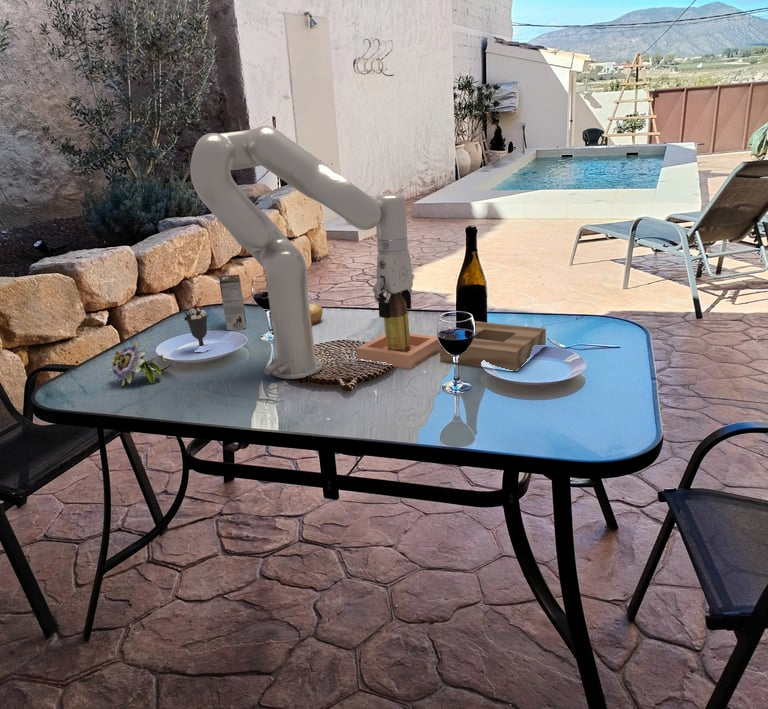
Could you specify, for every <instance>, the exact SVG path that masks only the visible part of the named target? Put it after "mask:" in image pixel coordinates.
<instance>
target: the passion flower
mask: <svg viewBox="0 0 768 709" xmlns="http://www.w3.org/2000/svg"><path fill="white" fill-rule="evenodd" d="M138 349H139V342H138V341H135V342H134V343H133V345H132V346H131V345H130V346H128V347H127V348H126V347H125V348H124V349H122V351H120V350H119V351H116V352H115V353H114V355H113V357H112V360H111V367H110V368H109V369H108V371H109V372H113V374H114V375H115V376H116V377H117V381H118V382H121V385H120V387H126V385H127V384H129V385H130V384H132V383H133V381H134V378H135V373H137V374H139V373H140V372H144V374H145V376H146V378H147V380H148V381H149V383H150V384H156V375H158V377H159V378H161V377H162V369H160V366H158V365H157V364H156V363H155V362H154V360H156V359H158V358H161V360H162V362H163V364H167V361H166V359H165V357H164V356H163V354H161V355H159V356H157V357H155V358H152V359H150V360H147V361H146V360H145V358H144V357H145V356H146V355H147V354H148V349H147V348H146V349H142V350H140V351H138ZM152 369H153V370H154V371H155V372H154V371H153V370H152ZM155 373H156V375H155Z"/></svg>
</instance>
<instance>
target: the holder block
mask: <svg viewBox="0 0 768 709" xmlns="http://www.w3.org/2000/svg"><path fill="white" fill-rule="evenodd" d="M474 321H475V320H474ZM475 323H476V330H475V337H474V339H473V341H472V343H471V345H470V346H469V348H468V349H467V350H466V352H464V353H463V354H462V355H461V356H460V357H459V362H458V364H457V365H463V366H468V367H469V366H470V367H477V368H482V367H481V362H482V361H483V360H485V361H486V362H489V363H490V364H492V365H495V366H497V367H501V368H505V369H509V370H513V371H516V370H517V369H518V368H520V367H521V366H522V365H523V364H524V363H525V362H526V361H527V359H528V358H529V357H530V354H531V351H532V347H533V346H534V345H546V344H547V343H546V338H547V337H546V336H547V334H546V333H547V328H543V327H533V326H523V325H516V324H515V325H514V324H506V323H505V324H504V323H495V322H484V321H477V320H476V321H475ZM439 358H440V360H439V361H440V362H442V363H447V364H449V363H450V364H454V363H453V357H452V356H451V355H450V354H448V353H447V352H446V351H445V350H444V348H443V347H442V346H441V345H440V351H439ZM521 368H522V367H521ZM521 368H520V369H521Z"/></svg>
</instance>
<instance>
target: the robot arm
mask: <svg viewBox="0 0 768 709" xmlns="http://www.w3.org/2000/svg"><path fill="white" fill-rule="evenodd" d="M255 167H263V168H265V169H266V170H267V171H269V172H271V173H272V174H273V175H275V176H276V177H278V178H279V179H280V180H282V181H284V183H286V184H287V185H289V186H290V187H292V188H293V189H295V190H297V192H300V193H301V194H303V196H305V197H307V198H309V199H311V200H313V201H316V202H318V203H320V204H321V205H323V206H325V208H327V209H330V211H332V212H334V213H335V214H336V215H339V217H341V218H343V219H344V221H346V223H348V224H349V225H350V226H352V227H355V228H356V229H358V230H362V231H370V230H373V229H374V228H376V229H375V230H376V231H375V232H376V249H377V256H376V257H377V258H376V282H375V284H374V286H373V287H372V291H373V293H374V298H375V299H376V302H377V303H378V317H380V318H383V319H384V318H390V317H391V308H390V302H388V301H389V298H390V296H391V293H392V294H396V293H399V292H401V295H402V297H403V298H404V299H405V301H406V304H407V310H410V309H412V294H411V293H412V291H413V290H412V288H413V285H414V275H415V274H414V273H413V266H412V262H411V261H412V260H411V259H412V258H411V255H410V251H409V248H408V247H409V246H408V222H407V220H408V219H407V200H406V196H404V195H403V194H402V193H401V194H400V193H384V194H379V195H368V194H367V193H366V192H364V191H363V190H361V189H360V188H359V187H358V186H356V185H354V184H353V183H352V182H351V181H349V180H347V179H346V178H344V177H343V176H342V175H340V174H339V173H337V172H336V171H334V170H333V169H332V168H331V167H330V166H328V165H327V164H326V163H324V162H323V161H321V160H320V158H319V159H318V158H317V157H316V156H314V155H313V154H311V152H309V151H307V150H305V149H304V148H303V147H302V146H300V145H299V144H298V143H296V142H295V141H293V140H292V139H291V138H289V137H287V135H285V134H284V133H282V132H281V131H280V130H278V129H276V128H275V127H272V126H269V125H262V126H259V127H256V128H255V127H254V128H251V129H246V130H239V131H231V132H230V131H229V132H222V133H221V132H220V133H217V132H210V133H209V132H208V133H206V134H204V135H202V136H201V137H200V138H199V139H198V140H197V142H196V144H195V146H194V147H193V151H192V155H191V159H190V168H189V169H190V171H189V172H190V177H191V182H192V185H193V188H194V190H195V192H196V195H197V196H198V198H199V199H200V200H201V201H202V203H203V204H204V205H205V206H206V208H207V209H208V210H209V211H210V212H211V214H213V216H214V217H215V218H216V219H217V220H218V222H219V223H220V224H221V225H222V226H223V227H224V228H225V229H226V230H227V232H229V233H230V234H231V236H232V237H233V239H234V240H235V242H236V243H237V244H238V245H239V246H240V247H242V248H244V249H245V250H246V251H247V252H248V253H249V254H250V255H251V256H252V257H253V258H254V259H255V261H256V262H258V264H259V265H260V266H261V267H262V268H263V269H264V273H265V278H266V287H267V296H268V304H269V309H270V310H269V311H270V316H271V324H272V325H271V326H272V333H273V339H274V347H275V354H276V356H275V357H274V358H273V363H272V364H270V365H268V366H266V367H264V369H263V371H264V374H265V375H267V376H269V375H273V376H274V377H276V378H278V379H285V380H295V379H296V380H297V379H304V378H307V377H306V376H308V377H310V376H309V375H311V374H314V373H316V372H318V371H319V372H321V371H320V370H323V363H322V361H320V360H319V359H316V351H315V342H314V336H313V328H312V327H313V325H311V316H310V308H309V304H310V299H309V298H310V297H309V296H308V295H309V291H308V287H309V286H308V271H307V270H308V269H307V268H308V267H307V264H306V260H305V258H304V256H303V254H302V252H301V251H300V250H299V249H298V248H297V247H296V245H294V244H293V243H292V241H290V240H289V238H288V237H287V236H286V235H285V234H284V232H282V230H281V229H279V227H278V226H277V225H276V223H275V222H274V221H273V220H272V219H271V218H270V217H269V216H268V215H267V213H266V212H265V211H263V210H262V209H260V208H258V206H257V205H255V204H254V202H253V201H252V200H251V199H250V198H249V197H248V196H247V194H246V193H245V191H243V190H242V189H241V187H240V186H239V185H238V184H237V183H236V181H235V180H234V178H233V176H232V172H231V171H235V170H243V169H249V168H255ZM384 294H385V295H384ZM319 372H318V373H319ZM316 374H317V373H316ZM314 375H315V374H314ZM311 376H312V375H311Z"/></svg>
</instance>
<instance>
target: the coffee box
mask: <svg viewBox="0 0 768 709" xmlns="http://www.w3.org/2000/svg"><path fill="white" fill-rule="evenodd" d="M218 278H219V288H220V294H221V301H222V302H221V303H222V307H223V316H224V321H225V326H226V331H227V330H232V331H238V330H237V329H240V330H244V329H243V328H247V327H248V326H247V318H246V312H245V311H246V310H245V304H244V296H243V290H242V284H241V278H240V275H239V274H226V275H221V276H218Z"/></svg>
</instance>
